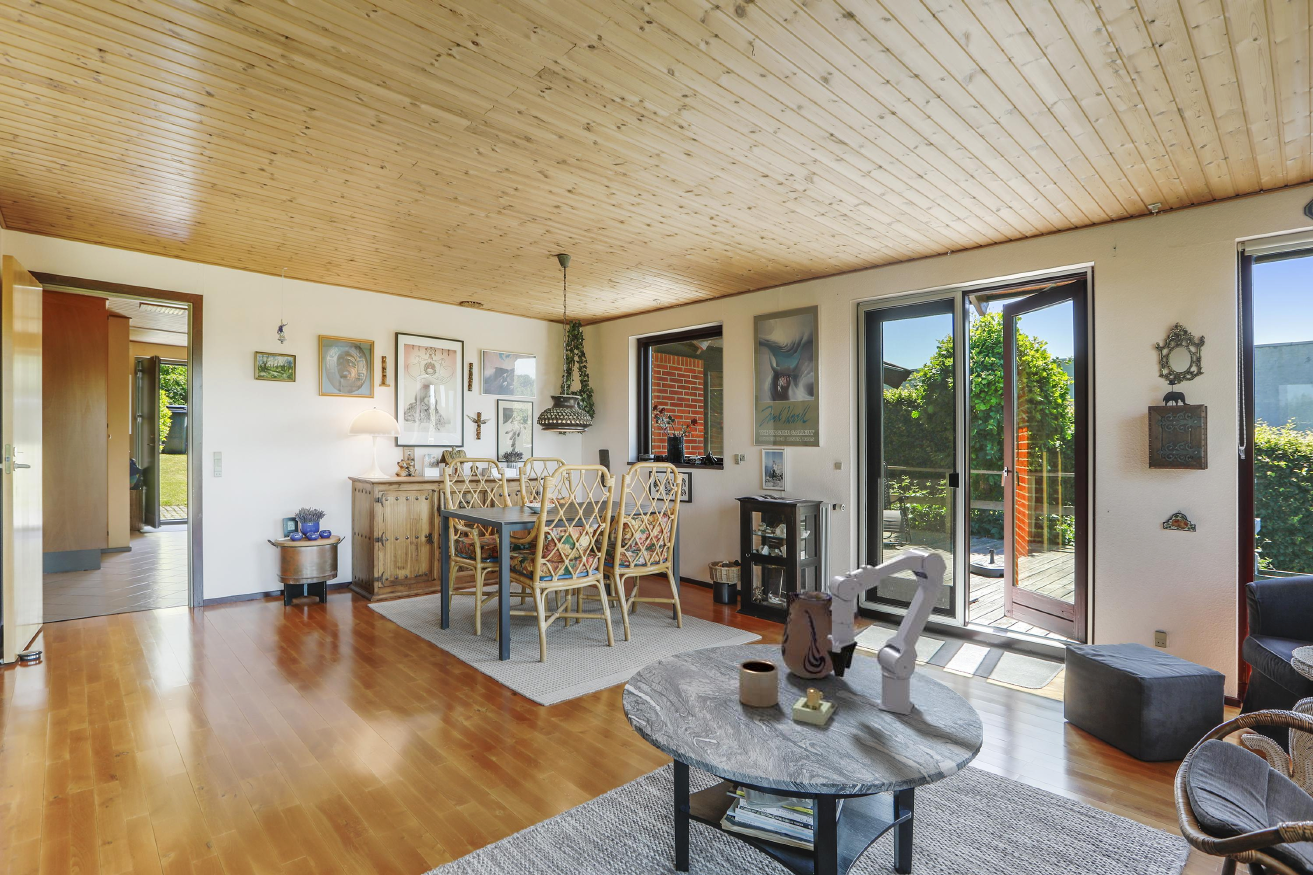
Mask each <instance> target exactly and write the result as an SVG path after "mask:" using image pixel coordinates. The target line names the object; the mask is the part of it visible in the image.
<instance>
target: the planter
mask: <svg viewBox="0 0 1313 875" xmlns="http://www.w3.org/2000/svg"><path fill="white" fill-rule="evenodd" d="M738 668H739V670H738V672H739V673H738V674H739V675H738V676H739V677H738V678H739V681H738V699H739V701H741V703H743V704H744V705H746V706H747V707H753V708H759V709H760V708H763V709H764V708H770V707H774V705H776V704H778V702H779V666H778V665H777V664H775V663H773V662H769V661H765V660H755V659H754V660H747V661H743V662H741V663H740V664H739V667H738Z"/></svg>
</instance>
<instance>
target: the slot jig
mask: <svg viewBox="0 0 1313 875" xmlns="http://www.w3.org/2000/svg"><path fill="white" fill-rule="evenodd" d="M837 706H838V704H837V702H836V701H835V700H834V699H833V700H832V699H825V698H824V693H823V692H821V691H819V710H818V711H816V710H811V709H807V696H806V697H800V698H799V700H798V701H797V702H796V703H795V704H794V705H793V707H792V720H795V721H800V722H804V723H805V722H806V723H810V724H813V725H818V726H822V727H823V726H824V725H825V724H826V722H827V721H829V718H830V717H831V716H832V714H833V713H834V711H835V710H836V709H837Z"/></svg>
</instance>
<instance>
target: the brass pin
mask: <svg viewBox="0 0 1313 875" xmlns="http://www.w3.org/2000/svg"><path fill="white" fill-rule="evenodd" d="M819 692H820V691H819V689H818V688H814V687H809V688H807V689H806V697H807V709H811V710H816V711H818V710H819Z"/></svg>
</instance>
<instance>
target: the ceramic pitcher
mask: <svg viewBox="0 0 1313 875" xmlns="http://www.w3.org/2000/svg"><path fill="white" fill-rule="evenodd" d="M788 594H789V599H790V606H789V610H788V616H787V619H786V622H785V626H784V629H783V634H782V638H781V645H780V647H781V648H780V649H781V656H782V660H783V662H784V664H785V666H786V667H787V668H788V669H789V671H790V672H791V673H793V675H796V676H798V677H800V678H802V679H823V678H825V677H827V676H829V674H831V673H832V672H833V671H834V670H833V665H832V661H831V658H830V656H829V654H828V652H827V649H828V648H832V644H833V643H832V641H831V640H830V639H827V636H828V635H832V615H831V614H830V609H832V594H831V593H827V592H822V591H817V590H804V591H802V593H799V592H794V591H793V592H792V591H791V592H789V593H788Z"/></svg>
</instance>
